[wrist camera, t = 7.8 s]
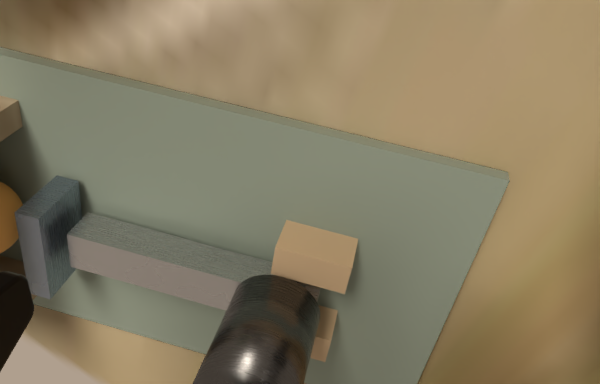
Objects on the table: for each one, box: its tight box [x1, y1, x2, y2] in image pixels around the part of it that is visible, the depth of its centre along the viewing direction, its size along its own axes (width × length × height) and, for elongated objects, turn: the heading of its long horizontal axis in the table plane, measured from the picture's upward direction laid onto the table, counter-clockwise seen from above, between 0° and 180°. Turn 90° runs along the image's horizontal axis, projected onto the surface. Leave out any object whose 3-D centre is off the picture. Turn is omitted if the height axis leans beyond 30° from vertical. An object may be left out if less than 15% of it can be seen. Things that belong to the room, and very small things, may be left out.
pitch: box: [0, 47, 509, 384], centre depth 24 cm, size 23×14×2 cm, turn 81°
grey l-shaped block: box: [14, 175, 321, 384], centre depth 21 cm, size 12×4×6 cm, turn 81°
